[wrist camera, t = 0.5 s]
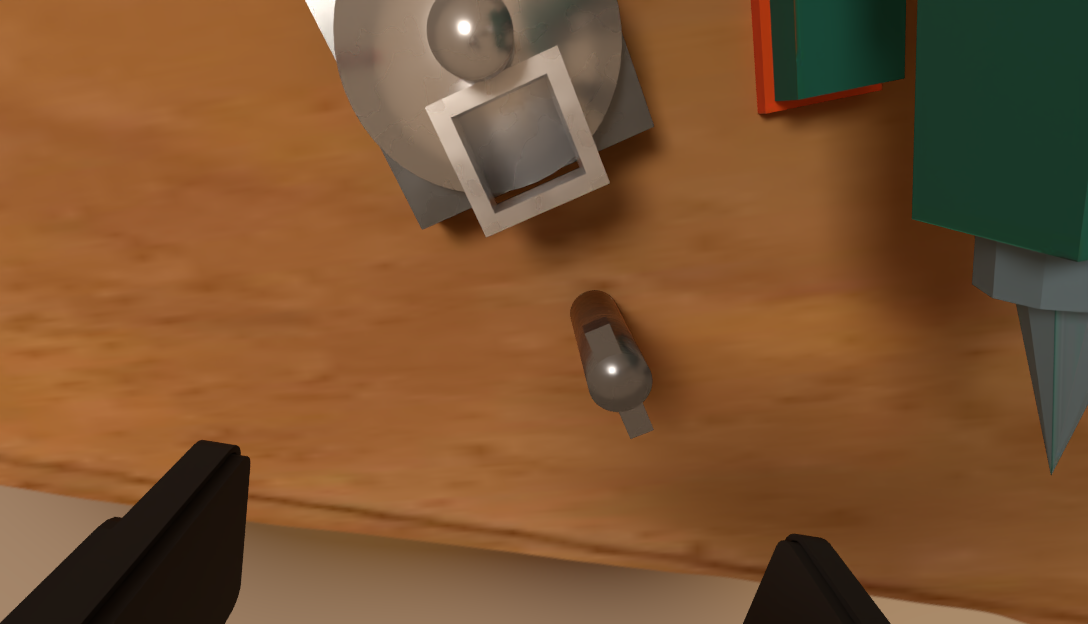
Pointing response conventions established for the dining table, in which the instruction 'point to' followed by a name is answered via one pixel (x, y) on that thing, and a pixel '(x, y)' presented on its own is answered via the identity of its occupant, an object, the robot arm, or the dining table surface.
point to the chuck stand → (442, 203)
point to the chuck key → (612, 360)
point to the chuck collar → (484, 93)
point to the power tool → (974, 147)
